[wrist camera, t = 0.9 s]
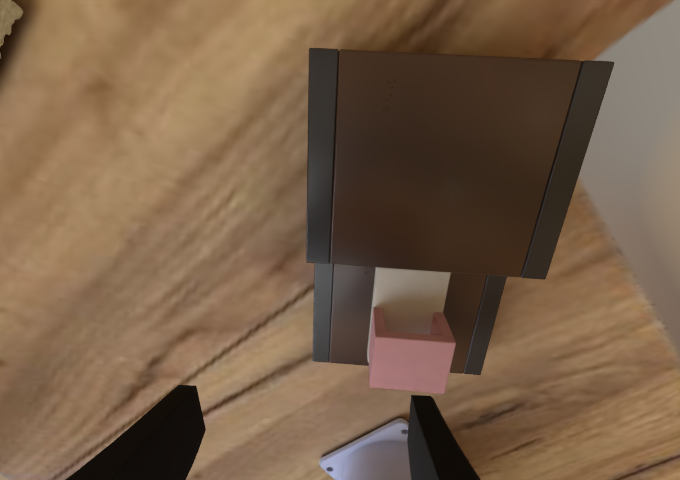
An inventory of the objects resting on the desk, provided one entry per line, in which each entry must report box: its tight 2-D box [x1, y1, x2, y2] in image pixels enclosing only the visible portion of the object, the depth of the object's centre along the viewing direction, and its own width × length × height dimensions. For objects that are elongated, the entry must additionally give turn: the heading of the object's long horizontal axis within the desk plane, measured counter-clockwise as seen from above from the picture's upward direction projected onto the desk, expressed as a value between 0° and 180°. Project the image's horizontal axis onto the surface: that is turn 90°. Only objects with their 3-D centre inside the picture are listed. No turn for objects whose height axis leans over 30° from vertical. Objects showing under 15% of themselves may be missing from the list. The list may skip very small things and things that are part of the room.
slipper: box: [367, 267, 456, 394], centre depth 16 cm, size 6×4×3 cm, turn 177°
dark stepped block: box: [306, 48, 614, 375], centre depth 16 cm, size 16×10×5 cm, turn 177°
